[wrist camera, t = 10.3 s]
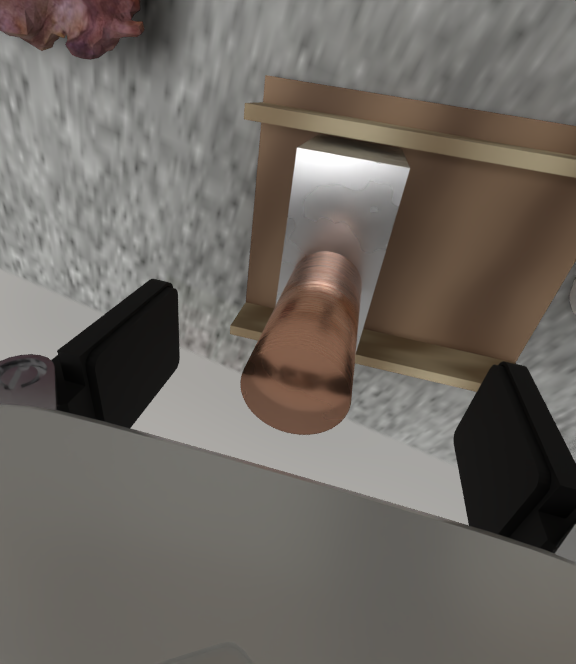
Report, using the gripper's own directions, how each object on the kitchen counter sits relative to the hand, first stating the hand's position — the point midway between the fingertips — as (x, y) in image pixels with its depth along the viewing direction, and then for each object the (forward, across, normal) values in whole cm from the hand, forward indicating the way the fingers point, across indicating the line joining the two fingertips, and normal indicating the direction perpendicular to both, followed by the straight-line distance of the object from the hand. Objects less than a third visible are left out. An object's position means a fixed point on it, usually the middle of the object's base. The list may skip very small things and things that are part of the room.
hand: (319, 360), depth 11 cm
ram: (+11, +1, 0) cm, 11 cm away
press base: (+13, -3, 0) cm, 14 cm away
